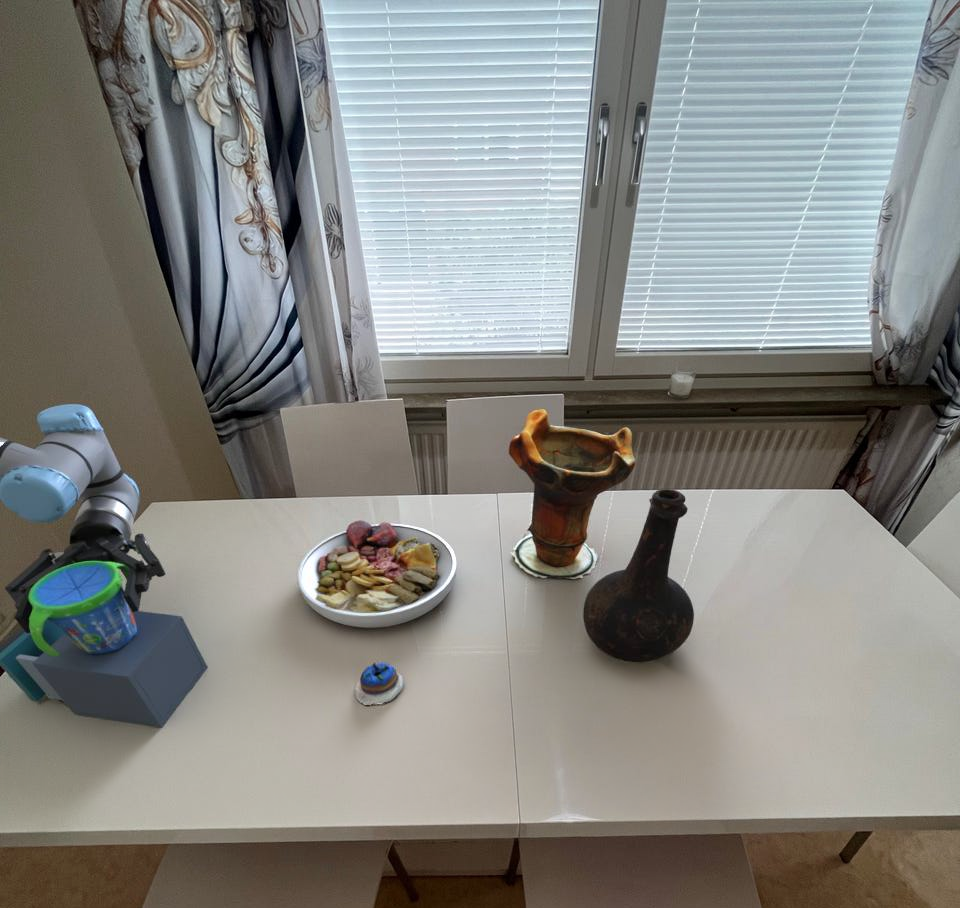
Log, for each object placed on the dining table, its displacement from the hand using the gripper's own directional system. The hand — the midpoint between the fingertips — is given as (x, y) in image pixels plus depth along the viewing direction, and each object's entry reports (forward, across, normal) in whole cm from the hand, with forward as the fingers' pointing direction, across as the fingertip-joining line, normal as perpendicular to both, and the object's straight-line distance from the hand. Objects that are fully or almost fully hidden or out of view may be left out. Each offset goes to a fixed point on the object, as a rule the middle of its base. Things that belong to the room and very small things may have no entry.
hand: (78, 614), depth 70 cm
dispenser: (-4, 0, -19) cm, 19 cm away
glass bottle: (+13, -79, -19) cm, 83 cm away
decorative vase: (-15, -79, -19) cm, 83 cm away
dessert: (+9, -36, -19) cm, 41 cm away
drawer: (-9, +10, -18) cm, 22 cm away
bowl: (-18, -42, -19) cm, 49 cm away
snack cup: (-4, 0, -8) cm, 9 cm away
